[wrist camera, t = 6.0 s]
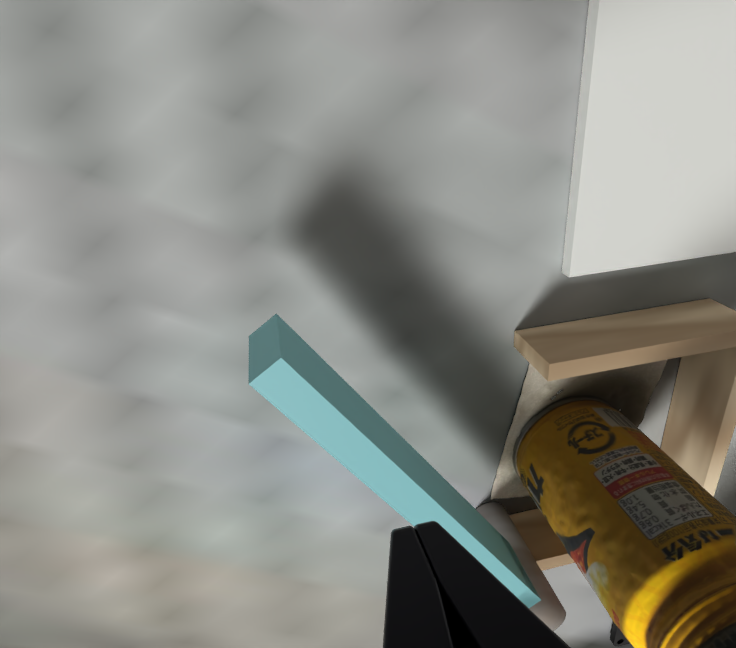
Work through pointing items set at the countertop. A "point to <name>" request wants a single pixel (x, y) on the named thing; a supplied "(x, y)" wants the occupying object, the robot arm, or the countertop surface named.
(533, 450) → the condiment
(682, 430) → the holder
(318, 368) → the bar
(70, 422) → the countertop surface
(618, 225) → the mat
